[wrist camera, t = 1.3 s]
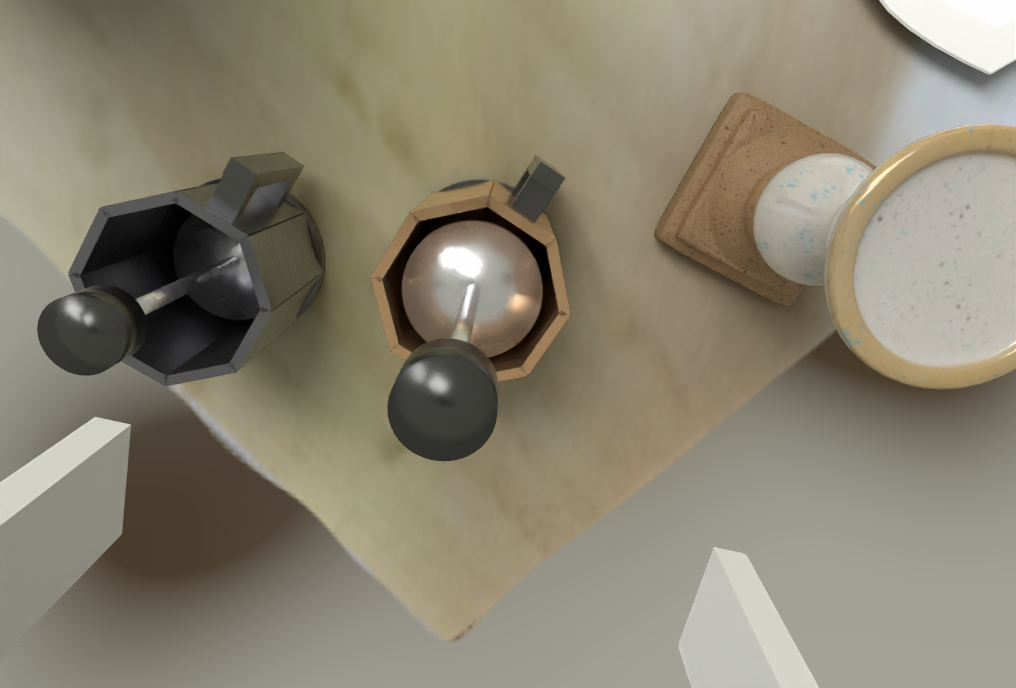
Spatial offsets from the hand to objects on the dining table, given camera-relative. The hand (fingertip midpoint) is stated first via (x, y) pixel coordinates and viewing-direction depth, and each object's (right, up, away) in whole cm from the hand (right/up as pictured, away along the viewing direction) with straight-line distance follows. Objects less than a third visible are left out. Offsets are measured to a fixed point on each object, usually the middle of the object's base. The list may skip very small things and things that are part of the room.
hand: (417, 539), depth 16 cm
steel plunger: (-17, +10, +33) cm, 38 cm away
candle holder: (+19, +14, +34) cm, 42 cm away
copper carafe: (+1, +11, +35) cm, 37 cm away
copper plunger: (0, +8, +25) cm, 27 cm away
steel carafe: (-16, +12, +35) cm, 40 cm away
